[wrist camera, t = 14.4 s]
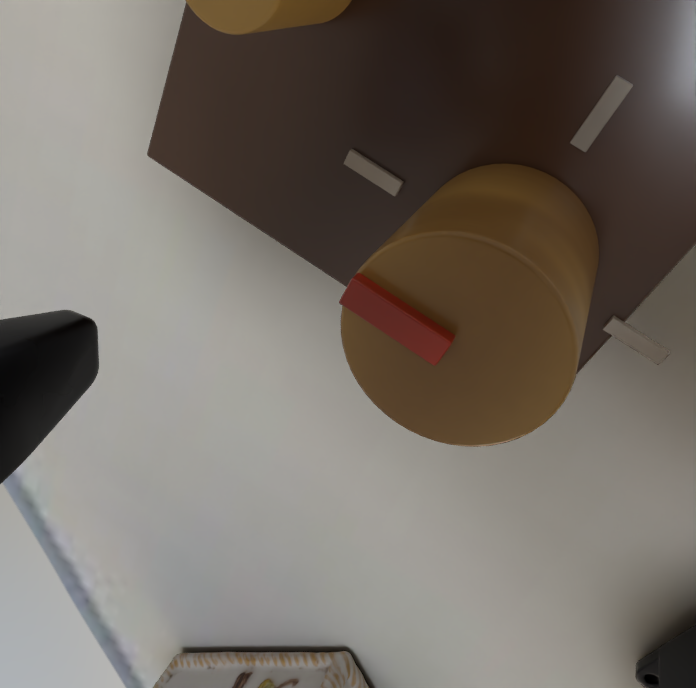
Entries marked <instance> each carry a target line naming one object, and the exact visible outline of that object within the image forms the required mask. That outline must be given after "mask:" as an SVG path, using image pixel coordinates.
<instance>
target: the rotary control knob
mask: <svg viewBox="0 0 696 688" xmlns="http://www.w3.org/2000/svg"><path fill="white" fill-rule="evenodd" d="M598 264H599V244H598V237H597V233H596V229H595V226H594V224H593V221H592V219H591V216H590V214H589V213H588V211H587V209H586V208H585V206H584V204H583V203H582V202H581V201H580V199H579V198H578V197H577V196H576V195H575V194H574V193H573V192H572V191H571V190H570V189H569V188H568V187H567V186H566V185H564V184H563V183H562V182H560V181H559V180H558V179H556V178H554V177H552V176H551V175H549V174H547V173H545V172H542V171H540V170H537V169H534V168H531V167H527V166H523V165H517V164H491V165H485V166H480V167H477V168H474V169H470V170H468V171H466V172H463V173H461V174H459V175H457V176H456V177H454V178H453V179H451V180H449V181H448V182H447V183H446V184H444V185H443V186H442V187H441V188H440V189H439V190H438V191H437V192H436V193H435V194H434V195H432V196H431V197H430V198H429V199H428V200H427V201H426V202H425V203H424V204H423V205H422V206H421V207H420V208H419V209H418V210H417V211H416V212H415V213H414V214H413V215H412V216H411V217H410V218H409V219H408V220H407V221H406V222H405V223H404V224H403V225H402V226H401V227H400V228H399V229H398V230H397V231H396V232H395V233H394V234H393V235H392V236H391V237H390V238H389V239H388V240H387V241H386V242H385V243H384V244H383V245H382V246H380V247H379V248H378V249H377V250H376V251H375V252H374V253H373V254H372V255H371V256H370V257H369V258H368V259H367V260H366V262H365V263H364V264H363V265H362V266H361V267H360V268H359V270H358V271H357V273H356V274H355V276H354V277H353V278H352V279H351V281H350V282H349V284H348V286H347V288H346V290H345V292H344V293H343V295H342V297H341V299H340V301H339V303H340V304H341V305H343V306H342V314H341V337H342V344H343V348H344V352H345V356H346V359H347V362H348V364H349V366H350V369H351V371H352V373H353V375H354V377H355V379H356V380H357V382H358V384H359V385H360V387H361V388H362V389H363V391H364V392H365V394H366V395H367V396H368V397H369V398H370V399H371V401H372V402H373V403H374V404H375V405H376V406H377V407H378V408H379V409H380V410H381V411H383V412H384V413H385V414H386V415H387V416H389V417H390V418H391V419H393V420H394V421H395V422H397V423H398V424H400V425H402V426H403V427H405V428H407V429H408V430H410V431H412V432H414V433H416V434H419V435H421V436H423V437H426V438H429V439H431V440H434V441H438V442H442V443H446V444H451V445H458V446H473V447H479V446H491V445H496V444H501V443H506V442H509V441H512V440H515V439H518V438H520V437H522V436H524V435H526V434H528V433H530V432H532V431H534V430H535V429H537V428H538V427H539V426H541V425H542V424H544V423H545V422H546V421H547V420H548V419H549V418H551V417H552V416H553V415H554V414H555V413H556V412H557V410H558V409H559V408H560V407H561V405H562V404H563V403H564V401H565V399H566V398H567V396H568V394H569V392H570V391H571V388H572V385H573V383H574V380H575V377H576V373H577V368H578V363H579V358H580V353H581V348H582V343H583V338H584V333H585V328H586V323H587V318H588V313H589V308H590V303H591V298H592V294H593V289H594V284H595V279H596V274H597V269H598Z"/></svg>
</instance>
